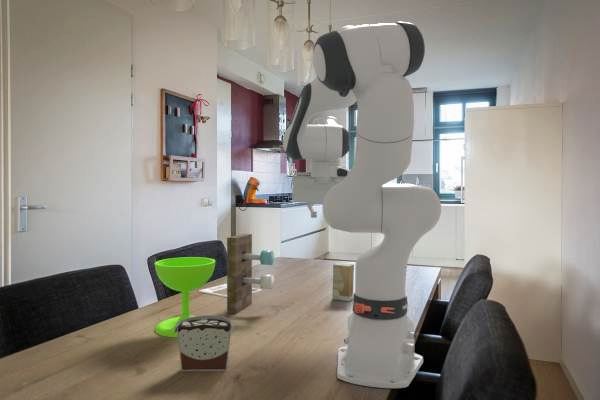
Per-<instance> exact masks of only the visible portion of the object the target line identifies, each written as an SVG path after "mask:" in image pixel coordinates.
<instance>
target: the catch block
mask: <svg viewBox="0 0 600 400" xmlns="http://www.w3.org/2000/svg"><path fill="white" fill-rule="evenodd" d="M242 254H253V234H252V233H242V234H237V235H232V236H228V237H227V238H226V284H227V289H226V295H227V297H226V299H227V300H226V313H227V314H233V315H236V314H238V313H240V312H241V311H243V310H244V309H246V308H248V307H249V306H250V305H252V304H253V297H252V296H253V294H252V292H253V290H252V288H253V284H249V283H242V277H246V278H253V266H252V265H253V262H252V261H253V260H245V259H242Z"/></svg>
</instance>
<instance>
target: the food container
mask: <svg viewBox="0 0 600 400" xmlns="http://www.w3.org/2000/svg"><path fill="white" fill-rule="evenodd" d="M193 316H194V317H189V318H186V319H183V320H180V321H179V322H177V325H176V326H175V330H174V333H175V332H177V336H178V337H177V343H178V352H179V363H180V370H181V372H213V371H215V372H216V371H218V372H221V371H222V372H225V371H227V370H228V363H229V354H230V353H229V352H230V342H231V335H232V333H234V332H235V329H234V325H233V323H232V320H231V318H228V317H226V316H221V315H210V314H208V315H207V314H206V315H193Z"/></svg>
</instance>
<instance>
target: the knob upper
mask: <svg viewBox="0 0 600 400" xmlns="http://www.w3.org/2000/svg"><path fill="white" fill-rule="evenodd" d="M242 259H245V260H252V261H259V262H260V265H263V266H273V264H274V262H275V252H274V250H264V249H263V250H261V252H260V253H259V254H256V253H252V254H242Z"/></svg>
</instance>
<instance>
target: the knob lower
mask: <svg viewBox="0 0 600 400" xmlns="http://www.w3.org/2000/svg"><path fill="white" fill-rule="evenodd" d="M242 283H249V284H252V285H260V289H261V290H273V288H274V287H275V286H274V284H275V277H274V275H273V274H261V275H260V278H258V277H252V278H246V277H242Z"/></svg>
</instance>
